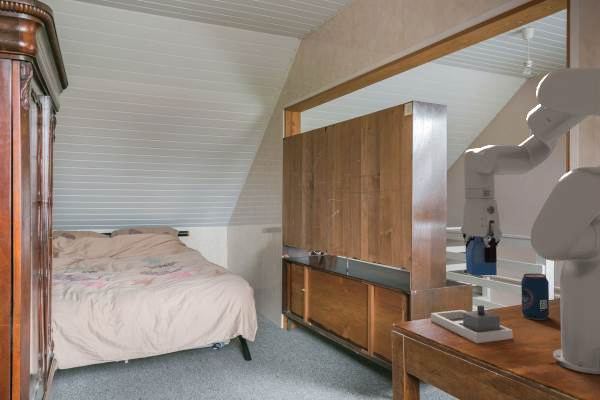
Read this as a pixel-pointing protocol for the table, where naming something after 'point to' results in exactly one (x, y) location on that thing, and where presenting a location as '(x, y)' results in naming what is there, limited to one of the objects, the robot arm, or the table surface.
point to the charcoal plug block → (481, 320)
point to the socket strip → (455, 324)
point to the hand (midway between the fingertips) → (480, 259)
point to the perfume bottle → (478, 259)
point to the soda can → (535, 296)
